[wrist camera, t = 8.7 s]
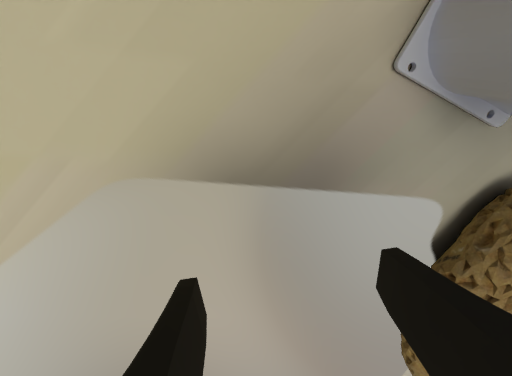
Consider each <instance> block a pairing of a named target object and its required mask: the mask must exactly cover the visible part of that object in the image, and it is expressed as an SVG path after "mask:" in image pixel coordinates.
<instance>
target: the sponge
mask: <svg viewBox="0 0 512 376" xmlns="http://www.w3.org/2000/svg"><path fill="white" fill-rule="evenodd" d="M431 269H433V270H435V271H436V272H438V273H440V274H441V275H443V276H445V277H446V278H448V279H450V280H451V281H453V282H455V283H456V284H458V285H460V286H461V287H463V288H465V289H467V290H468V291H470V292H472V293H473V294H475V295H477V296H479V297H481V298H483V299H484V300H486V301H488V302H490V303H492V304H493V305H495V306H497V307H499V308H501V309H503V310H505V311H507V312H509V313H511V314H512V188H510V189H507V190H506V192H505V194H503V195H499V196H498V197H497V198H495V199H494V200H493V201H492V202H490V203H489V204H488V205H487V206H485V207H484V208H483V209H481V210H480V212H479V213H478V214H477V215H476V216H475V217H474V218H473V220H472V221H471V222H470V223H469V224H468V225H467V226H465V227H464V229H463V230H462V232H461V234H460V236H459V237H458V238H457V241H456V242H455V243H454V244H453V245H452V246H451V247H450V248H449V249H448V250H447V251H446V252H445V253H444V254H443V255H442V256H441V257H440V258H439V259H438V260H437V261H436V262H435V263H434V264H433V265H432V266H431ZM401 338H402V341H401V348H402V355H403V357H404V360H405V363H406V365H407V366H408V368H409V370H410V372H411V374H412V376H429V374H428V373H427V371H426V370H425V368H424V367H423V365H422V364H421V362H420V361H419V359H418V357H417V356H416V354H415V353H414V351H413V350H412V348H411V347H410V345H409V344H408V342H407V341H406V339H405V338H404V336H403V335H402V333H401Z"/></svg>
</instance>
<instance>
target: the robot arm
mask: <svg viewBox="0 0 512 376" xmlns="http://www.w3.org/2000/svg"><path fill="white" fill-rule="evenodd" d="M410 63H411V64H412V68H411V70H410V71H408V65H409V64H410ZM394 68H395V70H396V71H397V72H399V73H401V74H402V75H404V76H406V77H407V78H409V79H411V80H413V81H414V82H416V83H418V84H419V85H421V86H423V87H425V88H426V89H428V90H430V91H431V92H433V93H435V94H437V95H438V96H440V97H442V98H444V99H445V100H447V101H449V102H450V103H452V104H454V105H456V106H457V107H459V108H461V109H462V110H464V111H466V112H468V113H469V114H471V115H473V116H475V117H476V118H478V119H480V120H481V121H483V122H485V123H487V124H488V125H490V126H493V127H500V126H502V125H503V124H504V123H505V122H506V121H507V120H508V118H509V117H510V116H511V115H512V0H431V1H430V3H429V4H428V6H427V8H426V9H425V11H424V13H423V14H422V16H421V18H420V19H419V21H418V23H417V25H416V26H415V28H414V30H413V31H412V33H411V35H410V36H409V38H408V40H407V41H406V43H405V45H404V46H403V48H402V50H401V51H400V53H399V55H398V57H397V58H396V60H395V63H394ZM488 112H489V114H488V115H487V113H488ZM376 289H377V291H378V293H379V295H380V297H381V299H382V301H383V303H384V305H385V307H386V309H387V311H388V313H389V314H390V316H391V318H392V319H393V321H394V322H395V324H396V325H397V327H398V329H399V330H400V332H401V333H402V335H403V336H404V338H405V339H406V341H407V342H408V344H409V345H410V347H411V348H412V350H413V351H414V353H415V354H416V356H417V357H418V359H419V361H420V362H421V364H422V365H423V367H424V368H425V370H426V371H427V373H428V374H429V376H512V314H511V313H509V312H507V311H505V310H503V309H501V308H499V307H497V306H495V305H493V304H492V303H490V302H488V301H486V300H484V299H483V298H481V297H479V296H477V295H475V294H473V293H472V292H470V291H468V290H467V289H465V288H463V287H461V286H460V285H458V284H456V283H455V282H453V281H451V280H450V279H448V278H446V277H445V276H443V275H441V274H440V273H438V272H436V271H435V270H433V269H431V268H430V267H428V266H426V265H425V264H423V263H422V262H420V261H419V260H417V259H415V258H414V257H412V256H410V255H409V254H407V253H405V252H404V251H402V250H400V249H399V248H397V247H396V248H390V249H383V250H382V251H381V257H380V264H379V271H378V277H377V284H376ZM206 320H207V314H206V311H205V307H204V303H203V299H202V296H201V291H200V288H199V284H198V280H197V278H190V279H183V280H180V281H179V282H178V284H177V286H176V288H175V290H174V292H173V294H172V296H171V298H170V300H169V302H168V303H167V305H166V307H165V309H164V311H163V312H162V314H161V316H160V318H159V319H158V321H157V323H156V324H155V326H154V328H153V330H152V331H151V333H150V335H149V336H148V338H147V340H146V341H145V343H144V344H143V346H142V347H141V349H140V350H139V352H138V353H137V355H136V356H135V358H134V360H133V361H132V363H131V364H130V366H129V367H128V368H127V370H126V371H125V373H124V374H123V376H203V368H204V359H205V350H206V325H207V322H206Z"/></svg>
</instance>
